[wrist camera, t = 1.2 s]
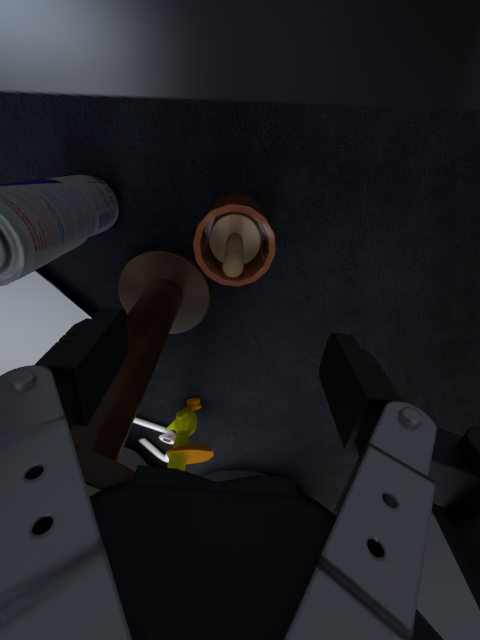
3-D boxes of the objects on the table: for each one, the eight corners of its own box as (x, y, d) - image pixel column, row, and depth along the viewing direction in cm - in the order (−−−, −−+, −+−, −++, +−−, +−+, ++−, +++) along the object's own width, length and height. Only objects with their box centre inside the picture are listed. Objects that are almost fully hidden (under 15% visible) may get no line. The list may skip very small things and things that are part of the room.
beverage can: (61, 173, 27) (-107, 191, 14) (116, 173, 27) (-2, 191, 14) (76, 229, 29) (-55, 289, 16) (126, 229, 29) (35, 289, 16)
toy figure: (216, 391, 40) (207, 473, 30) (220, 409, 42) (213, 493, 32) (169, 395, 41) (143, 478, 30) (175, 413, 43) (153, 497, 32)
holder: (205, 188, 28) (194, 199, 21) (273, 197, 28) (283, 211, 21) (202, 254, 31) (191, 281, 24) (263, 261, 31) (268, 290, 25)
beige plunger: (214, 200, 28) (198, 229, 17) (262, 207, 28) (274, 238, 17) (211, 248, 30) (195, 298, 19) (255, 253, 30) (262, 306, 20)
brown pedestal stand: (103, 227, 29) (-285, 435, 8) (227, 243, 30) (190, 472, 8) (115, 332, 36) (-83, 609, 14) (217, 342, 36) (180, 623, 15)
